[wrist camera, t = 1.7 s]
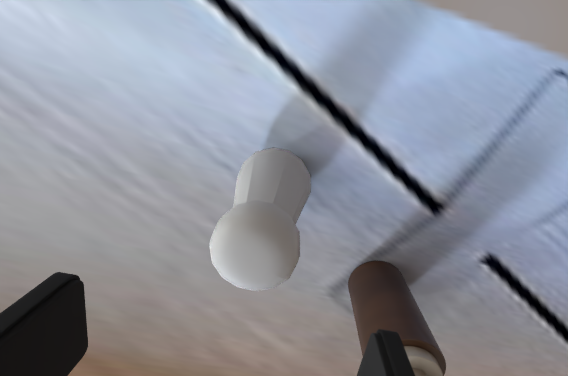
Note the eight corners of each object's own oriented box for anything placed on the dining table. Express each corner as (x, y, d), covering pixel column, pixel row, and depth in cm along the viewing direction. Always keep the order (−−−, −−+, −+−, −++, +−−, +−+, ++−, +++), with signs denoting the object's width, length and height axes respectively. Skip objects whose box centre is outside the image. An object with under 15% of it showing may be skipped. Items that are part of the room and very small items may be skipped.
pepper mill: (355, 256, 27) (387, 366, 17) (410, 265, 27) (478, 383, 16) (342, 300, 29) (364, 427, 18) (394, 310, 29) (447, 442, 18)
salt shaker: (254, 212, 26) (210, 321, 14) (234, 152, 25) (166, 217, 13) (317, 198, 26) (329, 301, 13) (301, 135, 24) (299, 186, 12)
